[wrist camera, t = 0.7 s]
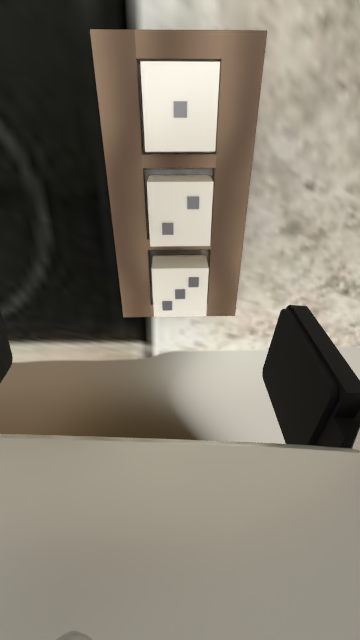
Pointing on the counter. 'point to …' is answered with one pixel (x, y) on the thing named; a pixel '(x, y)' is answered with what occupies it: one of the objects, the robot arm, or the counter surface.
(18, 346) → the counter surface
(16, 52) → the counter surface
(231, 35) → the keypad board
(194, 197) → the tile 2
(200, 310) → the white square block
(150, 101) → the keypad button
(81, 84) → the counter surface
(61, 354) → the counter surface
